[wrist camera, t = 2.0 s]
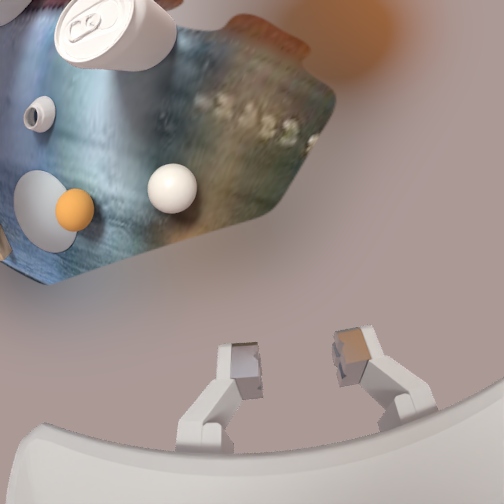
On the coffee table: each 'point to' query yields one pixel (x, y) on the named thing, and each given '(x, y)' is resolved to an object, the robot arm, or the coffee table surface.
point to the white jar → (40, 114)
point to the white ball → (172, 188)
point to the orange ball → (74, 210)
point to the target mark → (41, 211)
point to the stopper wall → (4, 245)
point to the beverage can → (114, 34)
